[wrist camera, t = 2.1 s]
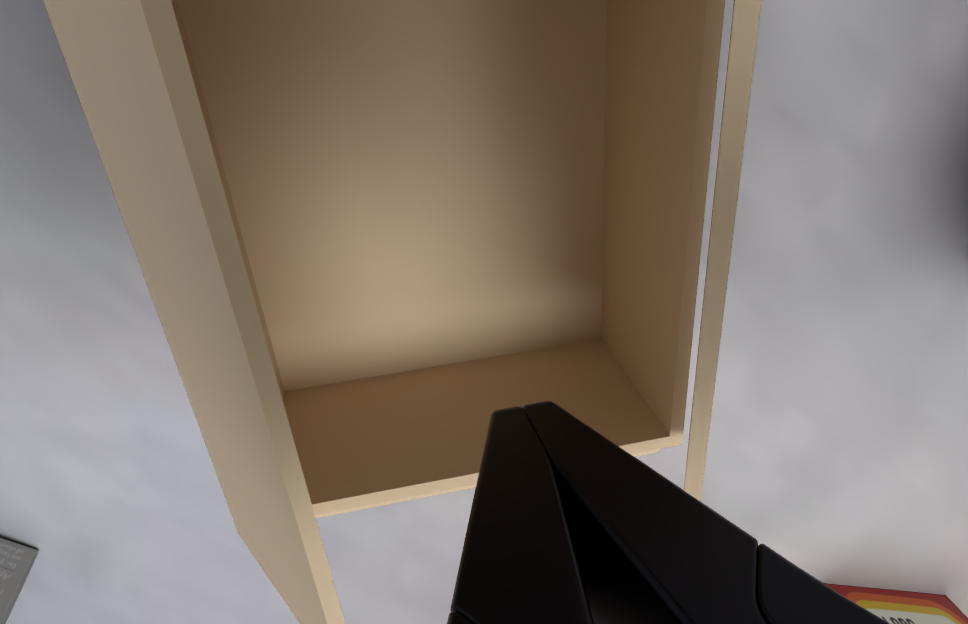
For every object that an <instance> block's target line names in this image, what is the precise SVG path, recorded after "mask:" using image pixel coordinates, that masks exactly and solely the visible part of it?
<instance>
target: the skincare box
mask: <svg viewBox="0 0 968 624" xmlns="http://www.w3.org/2000/svg"><path fill="white" fill-rule="evenodd" d="M37 554H38V551H37V550H35V549H32V548H30V547H26V546H23V545H20V544H17V543H14V542H11V541H8V540H5V539H2V538H0V624H5V623H6V621H7V619H8V617H9V615H10V613H11V611H12V608H13V606H14V604H15V602H16V600H17V597H18V595H19V593H20V591H21V589H22V587H23V585H24V583H25V580H26V578H27V576H28V574H29V572H30V570H31V567H32V565H33V563H34V561H35V559H36V557H37Z"/></svg>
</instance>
